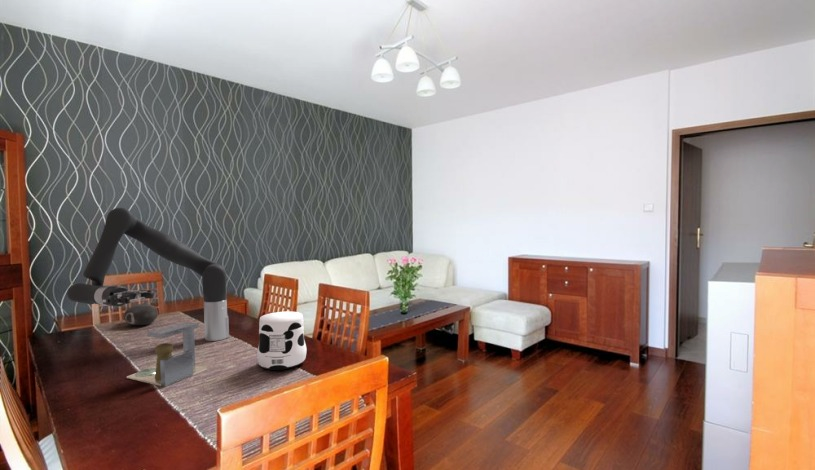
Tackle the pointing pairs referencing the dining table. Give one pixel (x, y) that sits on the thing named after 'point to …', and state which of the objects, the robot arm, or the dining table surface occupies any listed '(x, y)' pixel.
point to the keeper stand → (173, 357)
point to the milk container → (281, 340)
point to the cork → (162, 356)
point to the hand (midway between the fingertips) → (140, 298)
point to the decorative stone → (140, 314)
